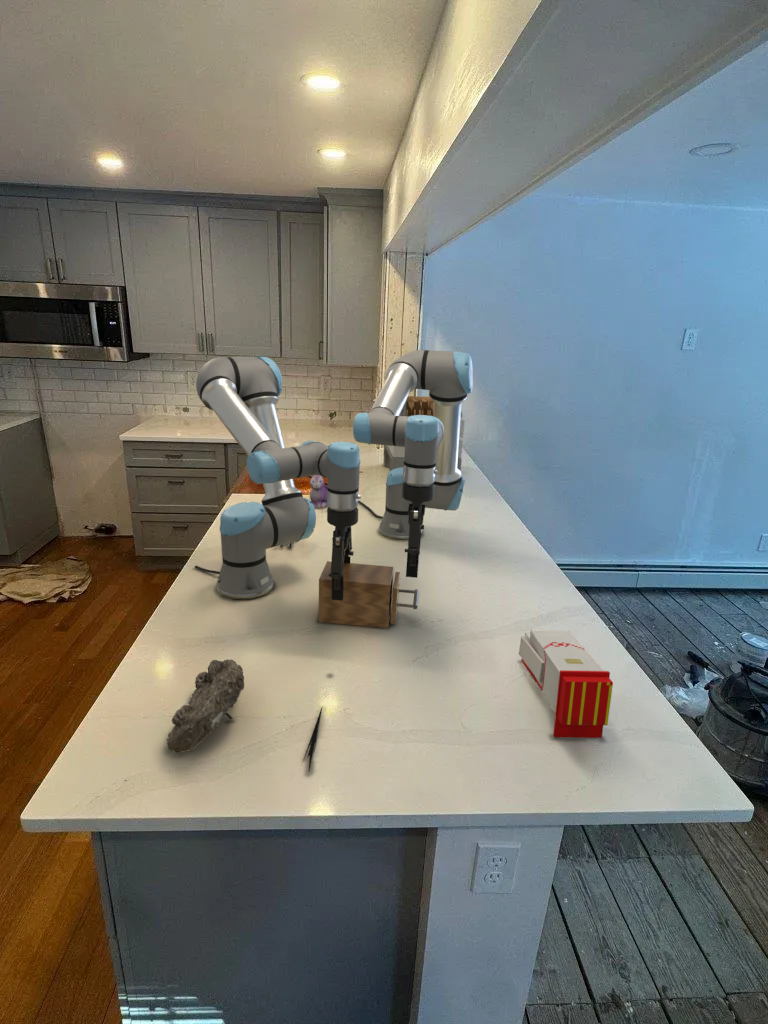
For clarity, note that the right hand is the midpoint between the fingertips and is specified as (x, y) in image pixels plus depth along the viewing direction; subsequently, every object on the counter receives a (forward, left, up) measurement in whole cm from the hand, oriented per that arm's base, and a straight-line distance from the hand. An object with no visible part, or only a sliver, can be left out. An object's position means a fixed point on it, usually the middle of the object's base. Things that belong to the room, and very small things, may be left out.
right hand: (413, 564), depth 140 cm
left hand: (-13, -13, -8) cm, 20 cm away
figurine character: (-61, +1, -15) cm, 62 cm away
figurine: (-86, +31, -15) cm, 92 cm away
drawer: (-6, -6, -14) cm, 17 cm away
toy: (+40, +4, -15) cm, 43 cm away
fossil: (+4, -55, -15) cm, 58 cm away
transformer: (-97, +98, -15) cm, 139 cm away
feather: (+17, -40, -15) cm, 46 cm away
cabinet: (-10, -10, -15) cm, 21 cm away
